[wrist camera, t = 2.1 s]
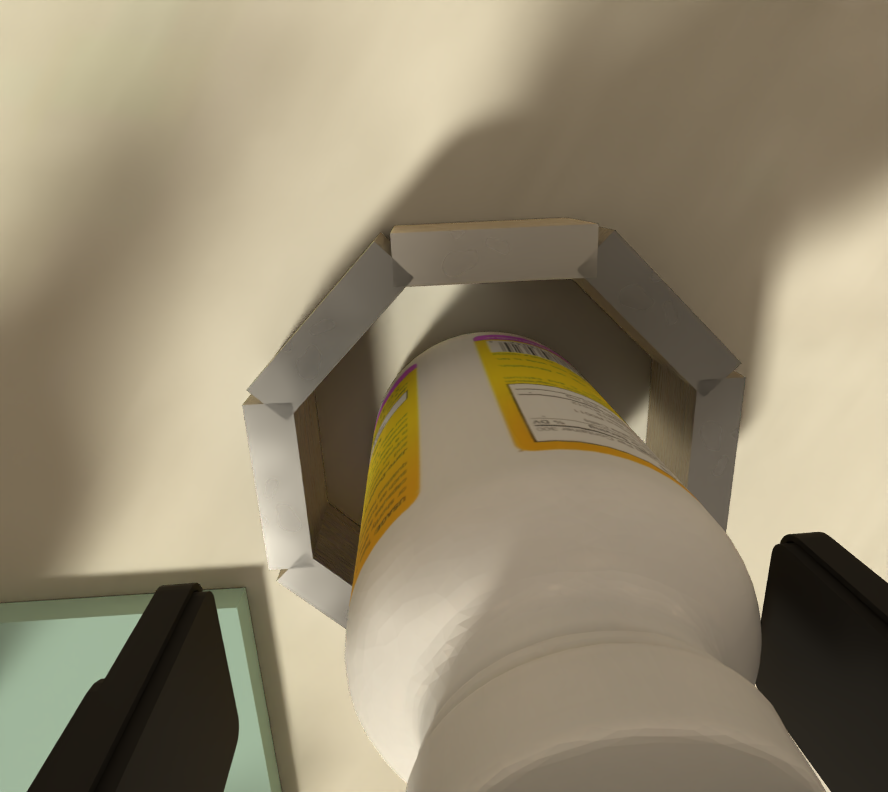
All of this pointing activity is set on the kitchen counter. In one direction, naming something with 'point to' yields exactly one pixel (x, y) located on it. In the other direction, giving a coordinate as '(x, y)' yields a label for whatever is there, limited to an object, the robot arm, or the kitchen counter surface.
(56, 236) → the kitchen counter surface
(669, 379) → the collar
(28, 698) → the pad
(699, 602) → the supplement bottle
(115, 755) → the robot arm
